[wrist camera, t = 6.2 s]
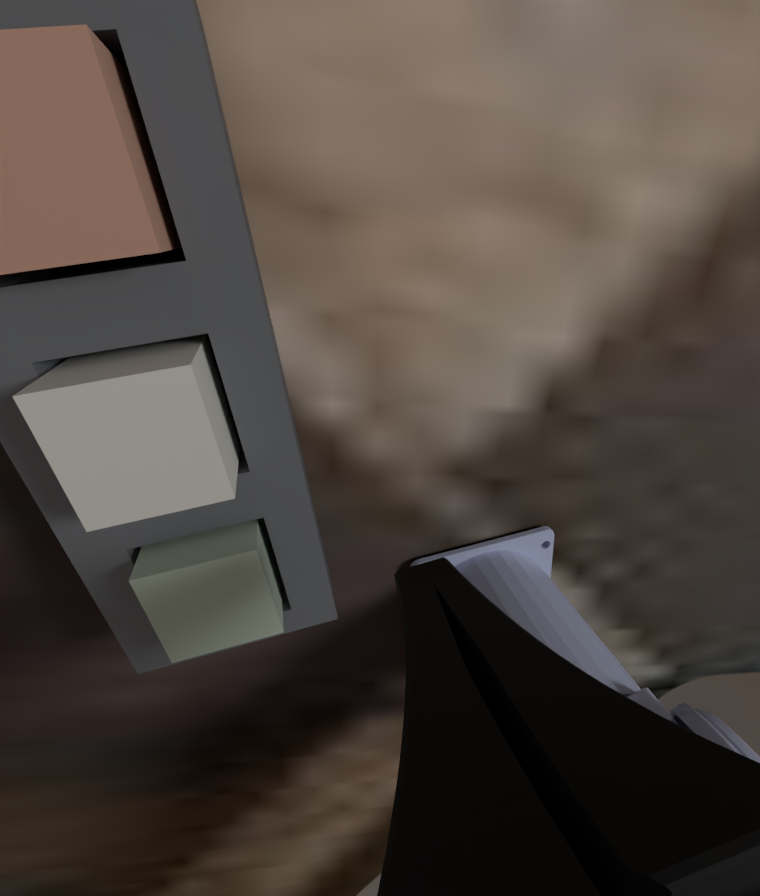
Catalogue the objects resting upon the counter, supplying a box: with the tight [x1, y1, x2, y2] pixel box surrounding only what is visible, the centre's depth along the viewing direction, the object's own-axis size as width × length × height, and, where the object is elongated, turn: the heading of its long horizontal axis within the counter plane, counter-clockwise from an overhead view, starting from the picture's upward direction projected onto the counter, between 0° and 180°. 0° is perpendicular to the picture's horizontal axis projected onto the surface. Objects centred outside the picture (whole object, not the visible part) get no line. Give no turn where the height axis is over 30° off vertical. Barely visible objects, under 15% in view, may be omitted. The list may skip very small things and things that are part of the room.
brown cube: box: [0, 24, 182, 275], centre depth 11 cm, size 4×4×4 cm
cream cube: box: [12, 335, 240, 532], centre depth 13 cm, size 4×4×4 cm
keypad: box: [0, 0, 338, 674], centre depth 15 cm, size 20×8×4 cm, turn 7°
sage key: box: [129, 518, 284, 663], centre depth 17 cm, size 4×4×4 cm
